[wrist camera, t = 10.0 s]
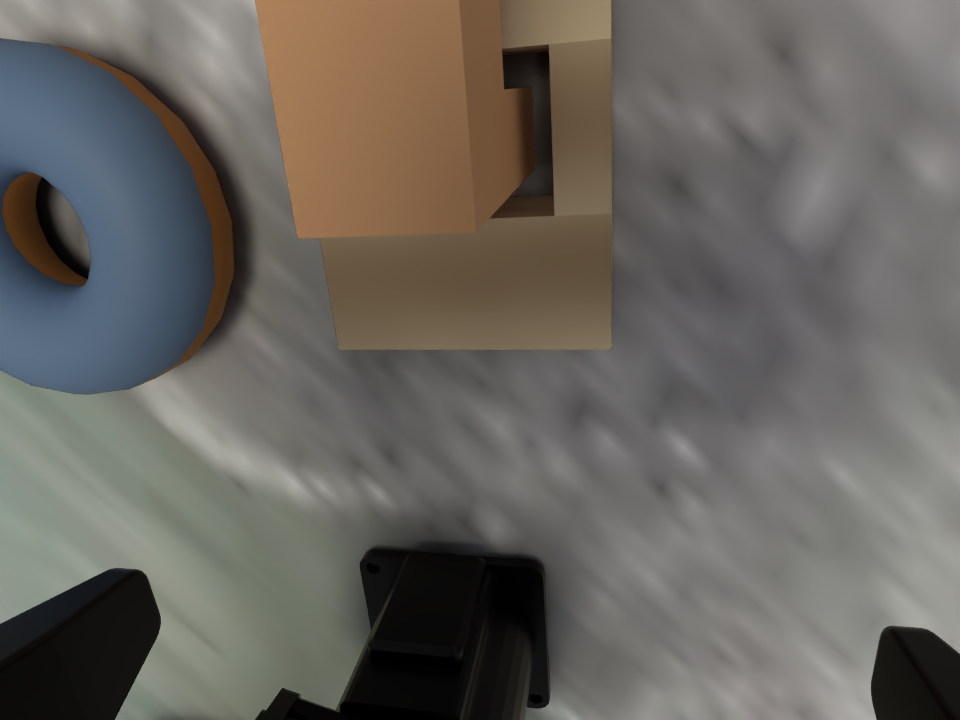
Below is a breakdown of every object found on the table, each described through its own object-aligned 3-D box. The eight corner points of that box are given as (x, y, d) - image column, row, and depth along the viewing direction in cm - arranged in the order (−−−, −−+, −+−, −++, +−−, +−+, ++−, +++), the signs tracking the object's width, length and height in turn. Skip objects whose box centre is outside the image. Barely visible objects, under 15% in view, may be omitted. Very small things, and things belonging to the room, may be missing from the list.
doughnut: (-57, -19, 18) (-238, -21, 14) (282, 103, 18) (193, 135, 14) (-20, 289, 23) (-147, 350, 20) (244, 383, 23) (171, 463, 20)
